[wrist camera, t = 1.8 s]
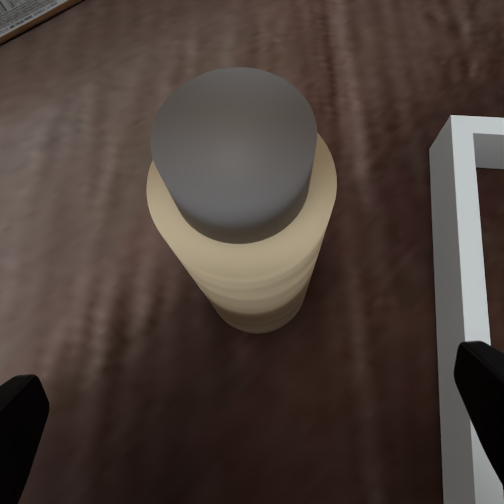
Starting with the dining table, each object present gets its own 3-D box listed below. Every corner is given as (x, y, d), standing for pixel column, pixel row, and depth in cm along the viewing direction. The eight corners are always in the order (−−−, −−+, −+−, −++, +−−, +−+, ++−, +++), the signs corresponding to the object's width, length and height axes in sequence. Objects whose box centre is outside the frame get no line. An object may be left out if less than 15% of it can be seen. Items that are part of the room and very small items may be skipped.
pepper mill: (302, 338, 20) (347, 252, 8) (203, 328, 20) (93, 231, 8) (308, 244, 21) (354, 48, 9) (217, 237, 22) (143, 39, 10)
